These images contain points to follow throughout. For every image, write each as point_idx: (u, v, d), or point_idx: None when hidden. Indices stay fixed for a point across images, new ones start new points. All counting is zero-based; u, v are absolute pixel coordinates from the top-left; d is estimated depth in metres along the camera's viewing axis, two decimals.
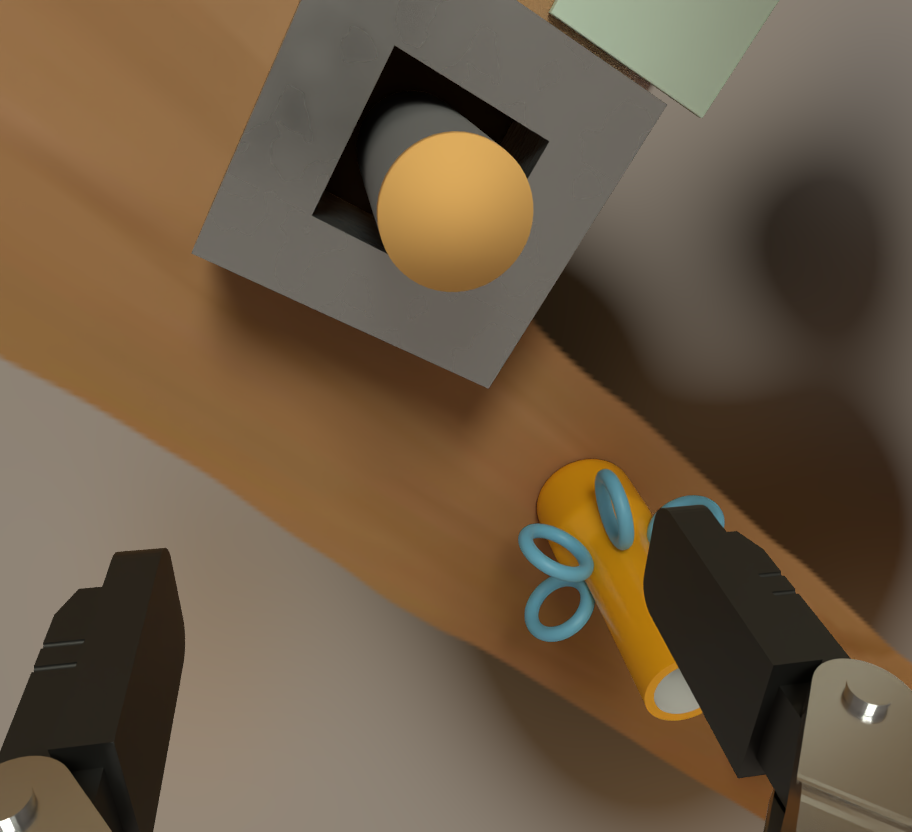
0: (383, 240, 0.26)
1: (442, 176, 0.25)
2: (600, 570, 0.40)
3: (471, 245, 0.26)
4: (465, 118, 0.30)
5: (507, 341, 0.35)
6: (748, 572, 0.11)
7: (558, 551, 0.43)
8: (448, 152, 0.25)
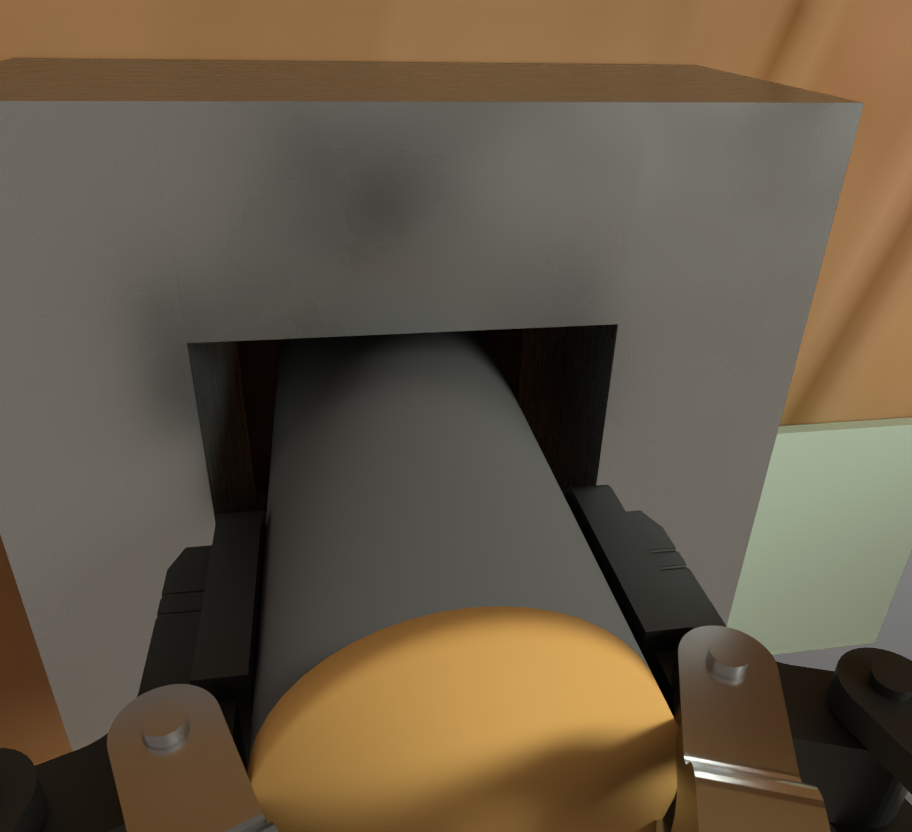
0: (305, 726, 0.08)
1: (554, 738, 0.09)
2: None
3: None
4: None
5: None
6: (638, 547, 0.12)
7: None
8: (618, 718, 0.09)
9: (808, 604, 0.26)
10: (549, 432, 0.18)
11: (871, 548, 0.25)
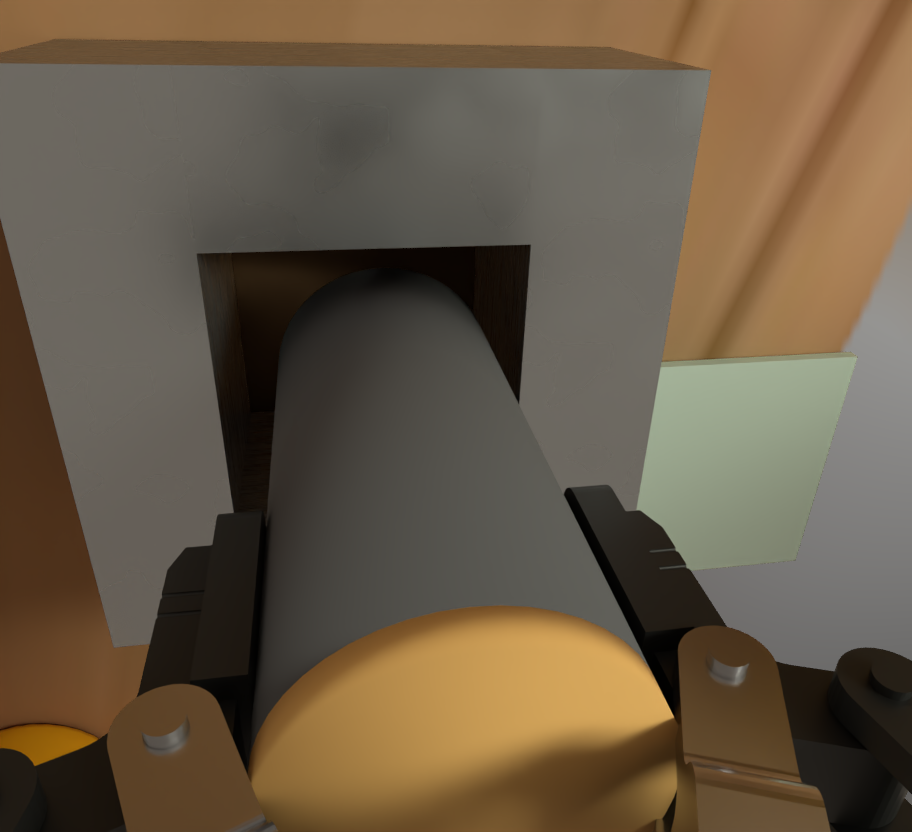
0: (305, 725, 0.08)
1: (554, 737, 0.09)
2: None
3: None
4: None
5: None
6: (638, 546, 0.12)
7: None
8: (618, 718, 0.09)
9: (733, 522, 0.30)
10: (492, 350, 0.21)
11: (785, 471, 0.29)
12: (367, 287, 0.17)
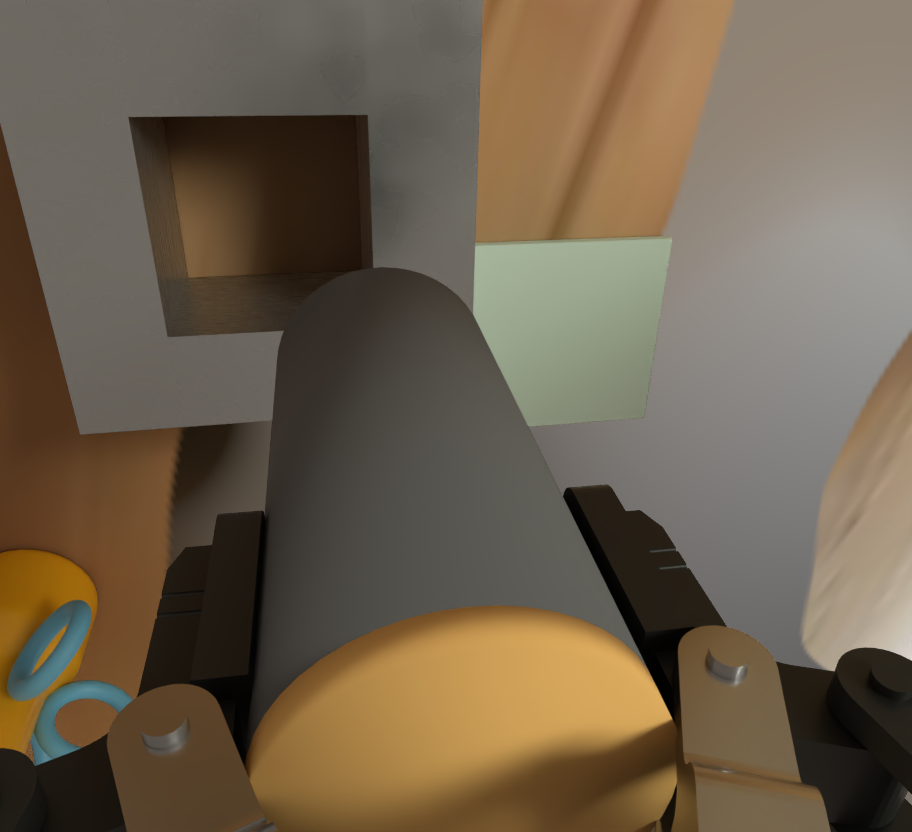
0: (301, 726, 0.08)
1: (551, 737, 0.09)
2: None
3: None
4: None
5: (149, 418, 0.27)
6: (638, 547, 0.12)
7: None
8: (616, 718, 0.09)
9: (587, 382, 0.37)
10: (364, 215, 0.28)
11: (625, 337, 0.36)
12: (365, 287, 0.17)
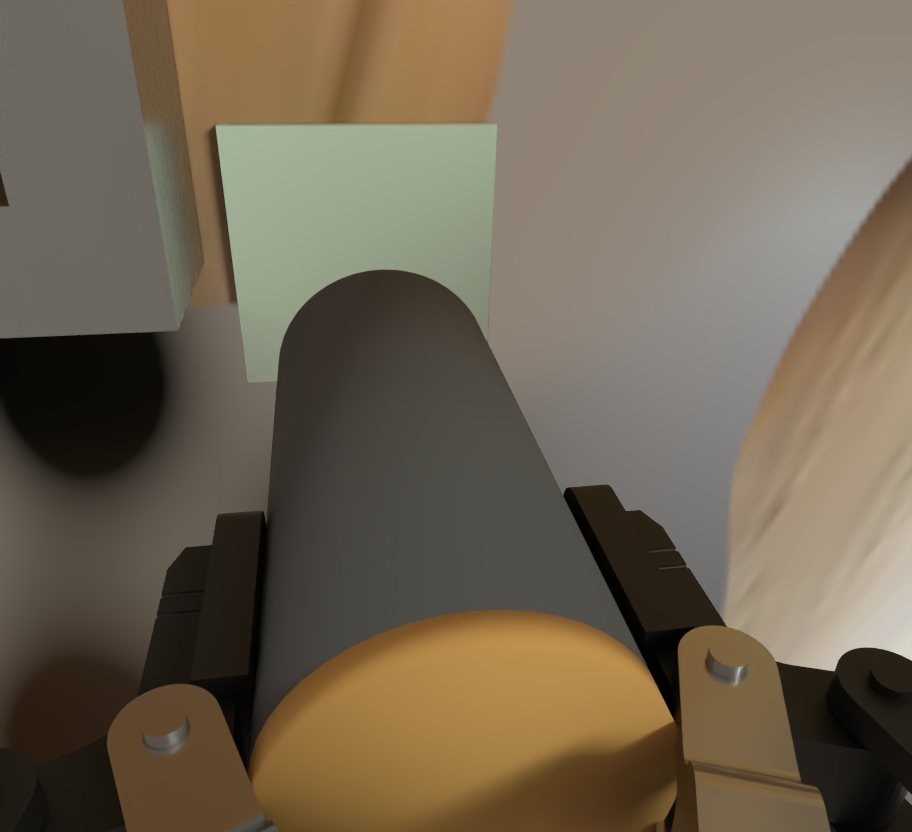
0: (304, 730, 0.08)
1: (554, 741, 0.09)
2: None
3: None
4: None
5: None
6: (638, 547, 0.12)
7: None
8: (618, 722, 0.09)
9: None
10: None
11: (448, 261, 0.28)
12: (367, 289, 0.17)
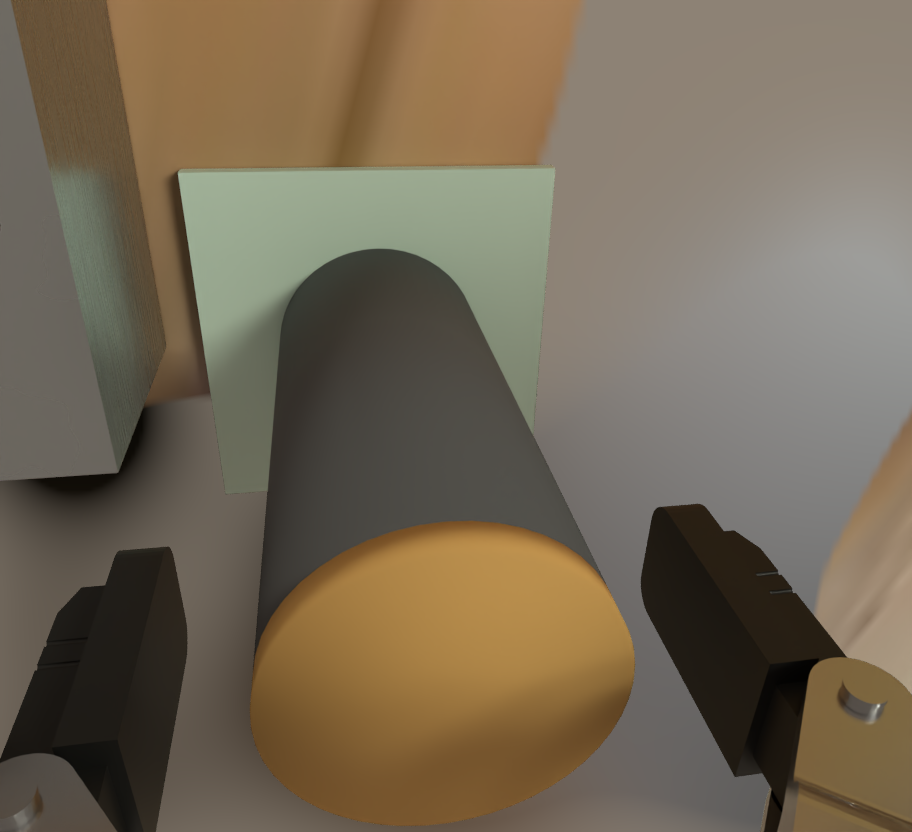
0: (303, 619, 0.09)
1: (519, 638, 0.10)
2: None
3: (405, 755, 0.11)
4: None
5: None
6: (745, 571, 0.11)
7: None
8: (575, 621, 0.10)
9: None
10: None
11: None
12: (362, 265, 0.18)
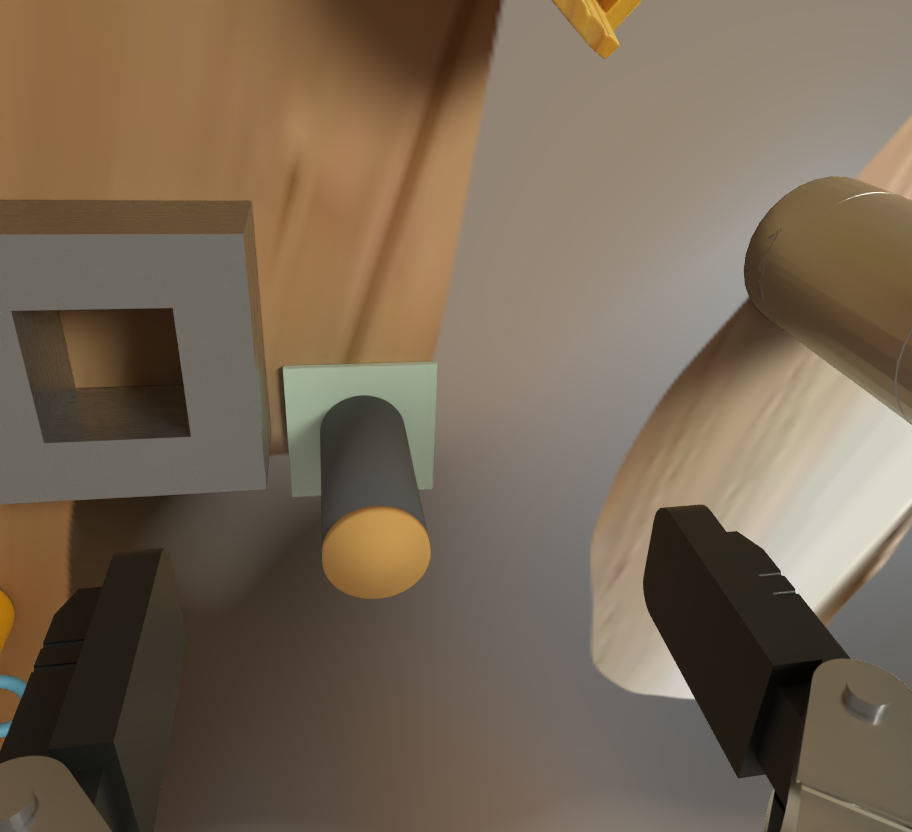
0: (337, 530, 0.36)
1: (395, 538, 0.37)
2: None
3: (364, 573, 0.38)
4: None
5: (33, 495, 0.40)
6: (748, 572, 0.11)
7: None
8: (411, 533, 0.37)
9: None
10: None
11: (410, 432, 0.48)
12: (355, 405, 0.45)
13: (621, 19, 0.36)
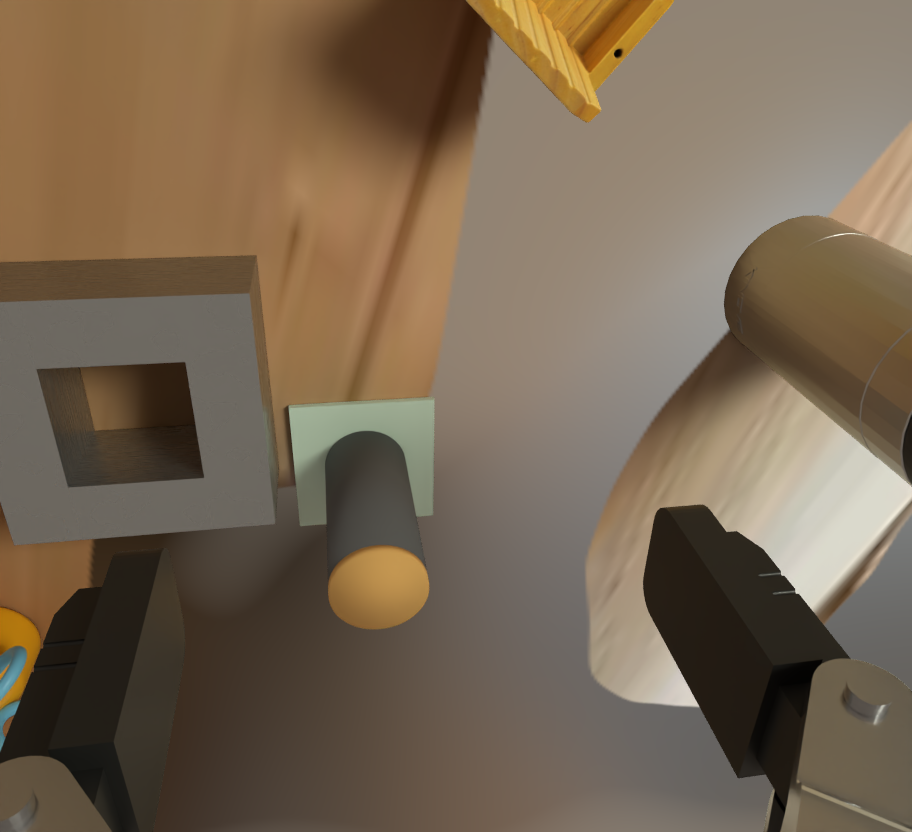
0: (342, 568, 0.39)
1: (396, 574, 0.40)
2: None
3: (368, 606, 0.40)
4: None
5: (59, 535, 0.43)
6: (748, 572, 0.11)
7: None
8: (410, 570, 0.40)
9: None
10: None
11: (410, 463, 0.51)
12: (358, 441, 0.48)
13: (604, 78, 0.38)
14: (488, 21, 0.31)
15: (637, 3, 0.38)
